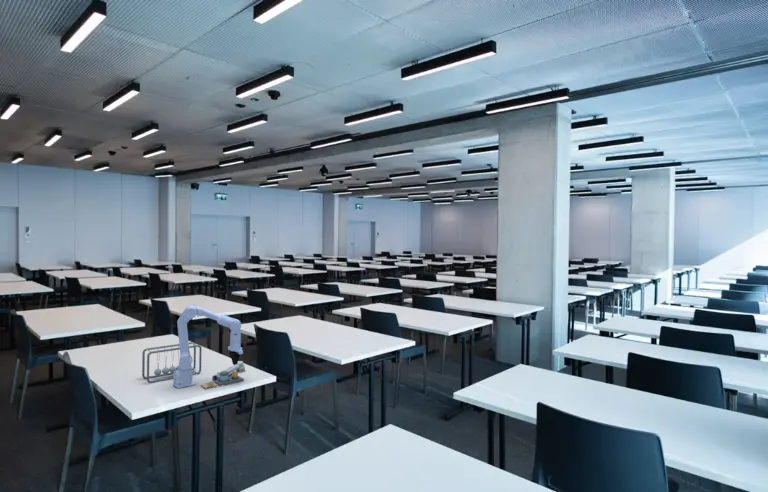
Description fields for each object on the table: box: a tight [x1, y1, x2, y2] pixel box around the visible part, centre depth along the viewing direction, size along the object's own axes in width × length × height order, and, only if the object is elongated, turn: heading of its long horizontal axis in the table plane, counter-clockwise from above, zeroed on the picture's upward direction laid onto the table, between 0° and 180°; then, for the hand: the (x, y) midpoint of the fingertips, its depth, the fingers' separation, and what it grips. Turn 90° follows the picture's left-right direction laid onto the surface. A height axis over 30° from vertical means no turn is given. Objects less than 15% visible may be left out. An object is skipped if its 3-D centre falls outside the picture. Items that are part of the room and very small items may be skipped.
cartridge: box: [219, 371, 230, 383], centre depth 252 cm, size 5×5×6 cm
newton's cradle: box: [141, 341, 202, 384], centre depth 263 cm, size 30×10×18 cm, turn 133°
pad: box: [200, 381, 219, 390], centre depth 246 cm, size 7×7×1 cm
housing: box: [213, 375, 245, 387], centre depth 255 cm, size 14×8×2 cm, turn 135°
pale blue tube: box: [211, 360, 246, 382], centre depth 267 cm, size 5×7×25 cm
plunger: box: [231, 370, 239, 379], centre depth 257 cm, size 3×3×3 cm
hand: (235, 364), depth 257 cm, fingers closed
